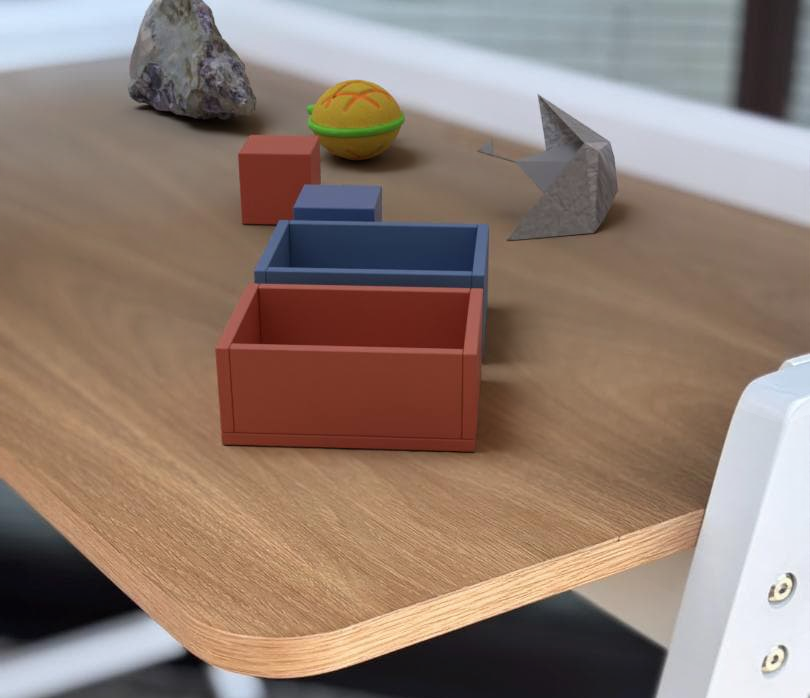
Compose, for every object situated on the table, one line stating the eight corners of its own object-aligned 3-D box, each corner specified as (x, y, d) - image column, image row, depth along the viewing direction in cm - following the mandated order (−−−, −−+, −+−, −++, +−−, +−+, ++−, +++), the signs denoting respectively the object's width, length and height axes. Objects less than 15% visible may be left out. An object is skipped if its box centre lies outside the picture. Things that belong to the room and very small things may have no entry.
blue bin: (258, 358, 75) (253, 270, 73) (282, 301, 82) (279, 219, 80) (482, 364, 74) (484, 275, 72) (487, 306, 81) (489, 223, 79)
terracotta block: (241, 224, 94) (237, 153, 92) (253, 203, 98) (249, 134, 96) (312, 225, 94) (310, 154, 92) (321, 204, 98) (319, 135, 96)
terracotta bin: (221, 444, 66) (214, 347, 64) (252, 372, 73) (247, 282, 71) (475, 452, 65) (477, 354, 63) (481, 378, 73) (483, 288, 70)
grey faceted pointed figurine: (622, 233, 88) (472, 190, 88) (590, 295, 94) (449, 256, 93) (646, 85, 94) (505, 44, 93) (614, 153, 100) (481, 115, 99)
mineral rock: (255, 137, 113) (248, -2, 108) (112, 139, 113) (98, -1, 108) (263, 98, 124) (257, -30, 119) (133, 99, 124) (122, -29, 119)
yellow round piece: (318, 175, 104) (315, 96, 101) (297, 139, 113) (294, 66, 110) (415, 168, 105) (414, 91, 103) (386, 134, 114) (386, 61, 111)
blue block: (295, 285, 84) (292, 207, 82) (306, 259, 88) (303, 183, 86) (375, 287, 84) (374, 208, 82) (382, 261, 88) (381, 185, 86)
